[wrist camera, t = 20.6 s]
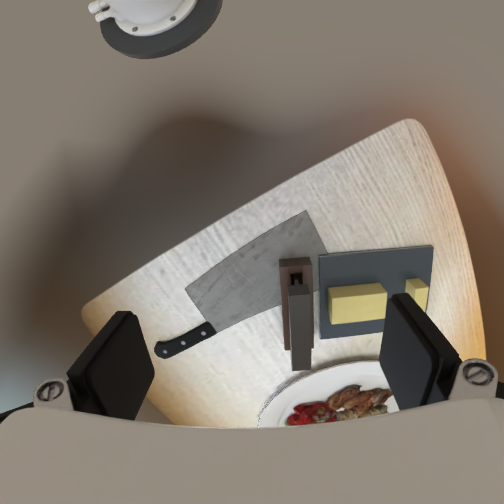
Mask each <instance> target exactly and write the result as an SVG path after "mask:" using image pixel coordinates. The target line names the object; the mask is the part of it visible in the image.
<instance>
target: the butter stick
mask: <svg viewBox="0 0 504 504" xmlns="http://www.w3.org/2000/svg"><path fill="white" fill-rule="evenodd" d="M386 302H387V292H386V290H385V289H384V288H383V287H382V285H381V284H380V283H372V284H362V285H352V286H341V287H330V288H328V315H329V318H330V321H331V324H342V323H351V322H359V321H368V320H376V319H383V318H385V313H386Z"/></svg>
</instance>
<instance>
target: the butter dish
mask: <svg viewBox="0 0 504 504" xmlns="http://www.w3.org/2000/svg"><path fill="white" fill-rule="evenodd" d="M433 250H434V247H433V246H432V245H428V246H416V247H405V248H393V249H381V250H368V251H356V252H344V253H331V254H320V255H318V262H319V337H320V339H330V338H339V337H348V336H356V335H364V334H372V333H379V332H383V330H384V322H385V318H383V319H376V320H368V321H359V322H351V323H342V324H331V321H330V318H329V315H328V288H330V287H341V286H352V285H362V284H372V283H380V284H381V285H382V287H383V288H384V289H385V290H386V292H387V300H388V299H389V298H391V297H392V295H393V294H398V293H405V288H406V280H407V279H415V278H419V279H420V280H421V281H422V282H424V283H425V284H426V285H427V286H428V287H429V289H430V281H431V272H432V262H433ZM429 289H428V297H429ZM428 297H427V304H428ZM427 304H426V310H427ZM386 305H387V302H386ZM426 310H425V313H426ZM385 314H386V313H385Z"/></svg>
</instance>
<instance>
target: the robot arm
mask: <svg viewBox="0 0 504 504" xmlns="http://www.w3.org/2000/svg"><path fill="white" fill-rule="evenodd" d="M197 1H198V0H97V1H95V2H92V3H90V4H89V11H90V12H91V13H95V12H98V11H100V10H103V9H104V8H106V7H109V6H110V8H109V10H107V11H103V12H101V13H98V14H97V15H96V16H95V18H96V21H97V22H100V21H102V20H105V19H106V18H109V17H112V18H113V17H114V18H115V21H116V23H117V25H118V26H119V27H120V28H121V29H122V30H123V31H125V32H126V33H128V34H130V35H134V36H152V35H156V34H159V33H162V32H164V31H167V30H169V29H171V28H173V27H174V26H176V25H177V24H179V23H180V22H181V21H183V20H184V19H185V18H186V17H187V16H188V15H189V14H190V13H191V11H192V10H193V9H194V7H195V5H196V3H197ZM379 362H380V366H381V369H382V371H383V373H384V375H385V378H386V380H387V382H388V384H389V387H390V389H391V391H392V394H393V396H394V398H395V401H396V403H397V405H398V408H399V410H400V411H396V412H392V413H386V414H381V415H375V416H370V417H364V418H358V419H351V420H344V421H337V422H329V423H319V424H309V425H297V426H282V427H257V428H219V427H195V426H179V425H166V424H157V423H148V422H139V421H134V420H135V418H136V416H137V413H138V411H139V409H140V407H141V405H142V402H143V400H144V398H145V396H146V394H147V391H148V389H149V387H150V385H151V383H152V381H153V378H154V374H155V372H154V367H153V364H152V361H151V358H150V355H149V352H148V349H147V346H146V343H145V340H144V337H143V334H142V330H141V327H140V324H139V320H138V317H137V316H136V315H134V314H133V313H132V312H131V311H117V312H116V313H115V314H114V315H113V316H112V317H111V319H110V320H109V321H108V322H107V323H106V325H105V326H104V327H103V328H102V329H101V330H100V332H99V333H98V334H97V335H96V337H95V338H94V339H93V340H92V341H91V343H90V344H89V345H88V346H87V347H86V349H85V350H84V351H83V353H82V354H81V355H80V356H79V357H78V359H77V360H76V361H75V362H74V364H73V365H72V366H71V367H70V369H69V370H68V372H67V375H68V377H69V380H68V381H67V382H66V381H65V380H64V379H61V378H51V379H48V380H45V381H43V382H42V383H40V384H39V385H38V386H37V387H36V389H35V391H34V393H33V402H31V403H28V404H26V405H23V406H21V407H18V408H15V409H12V410H9V411H7V412H4V413H1V414H0V504H504V383H501V382H498V372H497V370H496V368H495V367H494V366H493V365H492V364H491V363H489V362H487V361H485V360H482V359H476V358H474V359H468V360H465V361H464V362H462V360H461V359H460V358H459V354H458V353H457V352H456V350H455V349H454V348H453V346H452V345H451V344H450V343H449V341H448V340H447V339H446V338H445V336H444V335H443V334H442V333H441V331H440V330H439V329H438V328H437V326H436V325H435V324H434V323H433V322H432V320H431V319H430V318H429V317H428V316H427V314H426V313H425V312H424V311H423V310H422V308H421V307H420V306H419V305H418V304H417V303H416V301H415V300H414V299H413V298H412V297H411V296H410V294H409V293H407V292H405V293H398V294H393V295H392V297H391V298H389V299H388V300H387V305H386V314H385V322H384V330H383V337H382V344H381V350H380V356H379Z"/></svg>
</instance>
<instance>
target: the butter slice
mask: <svg viewBox="0 0 504 504" xmlns="http://www.w3.org/2000/svg"><path fill="white" fill-rule="evenodd" d="M428 289H429V287H428V286H427V285H426V284H425V283H424V282H422V281H421V280H420V279H419V278H415V279H407V280H406V288H405V292H407V293H409V294H410V296H411V297H412V298H413V299H414V300H415V301H416V303H417V304H418V305H419V306H420V307H421V308H422V310H423V311H424V312H425V310H426V304H427V297H428Z"/></svg>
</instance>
